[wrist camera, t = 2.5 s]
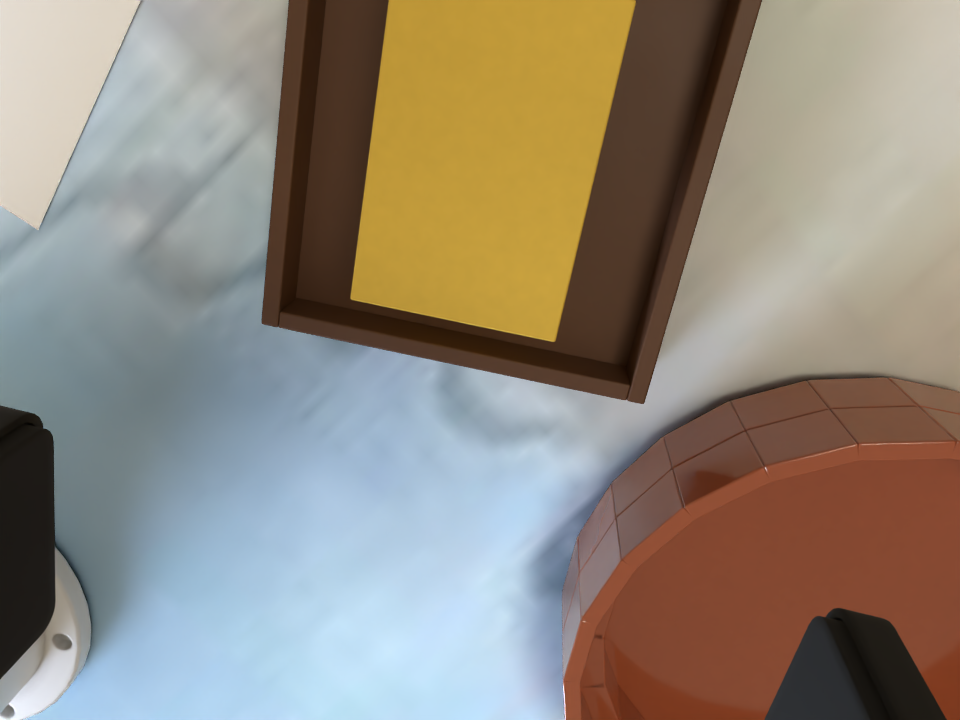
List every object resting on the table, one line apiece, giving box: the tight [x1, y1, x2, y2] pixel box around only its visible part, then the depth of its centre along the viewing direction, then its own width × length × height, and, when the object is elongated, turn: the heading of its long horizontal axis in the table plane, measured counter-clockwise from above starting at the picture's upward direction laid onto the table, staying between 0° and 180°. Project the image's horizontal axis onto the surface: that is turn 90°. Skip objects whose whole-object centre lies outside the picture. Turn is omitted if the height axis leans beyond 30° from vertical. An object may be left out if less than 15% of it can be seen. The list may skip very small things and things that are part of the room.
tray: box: [262, 0, 762, 404], centre depth 24 cm, size 13×14×2 cm
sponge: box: [350, 0, 636, 342], centre depth 22 cm, size 6×9×5 cm, turn 170°
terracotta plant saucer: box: [562, 377, 960, 720], centre depth 28 cm, size 20×20×6 cm
